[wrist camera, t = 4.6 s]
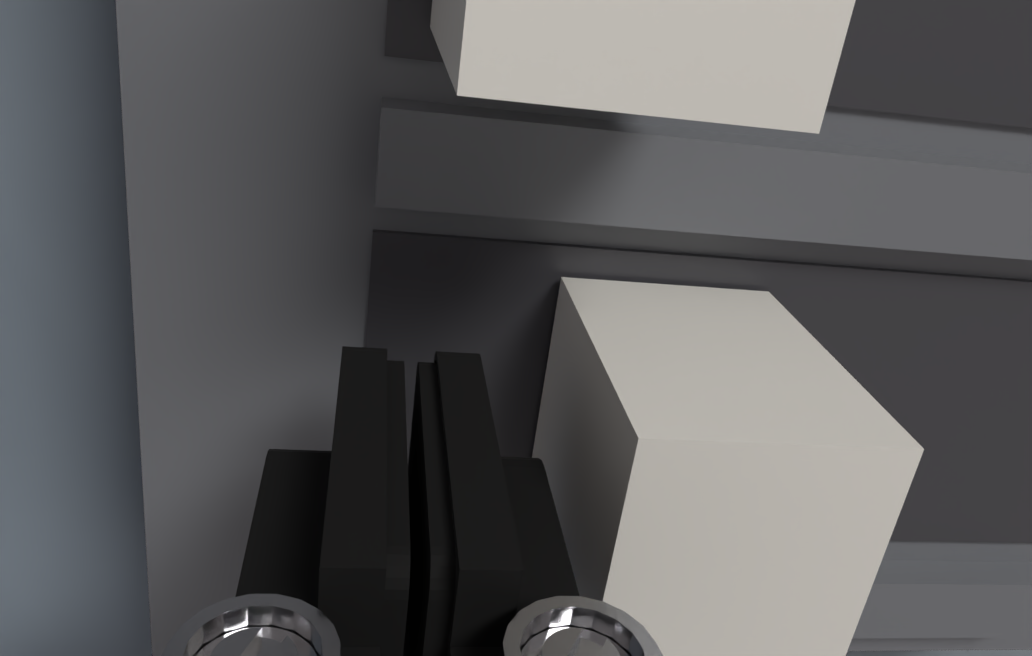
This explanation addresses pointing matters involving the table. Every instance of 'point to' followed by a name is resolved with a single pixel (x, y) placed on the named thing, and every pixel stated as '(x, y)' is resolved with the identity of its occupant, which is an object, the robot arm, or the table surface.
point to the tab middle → (650, 56)
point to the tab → (716, 468)
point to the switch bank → (572, 261)
